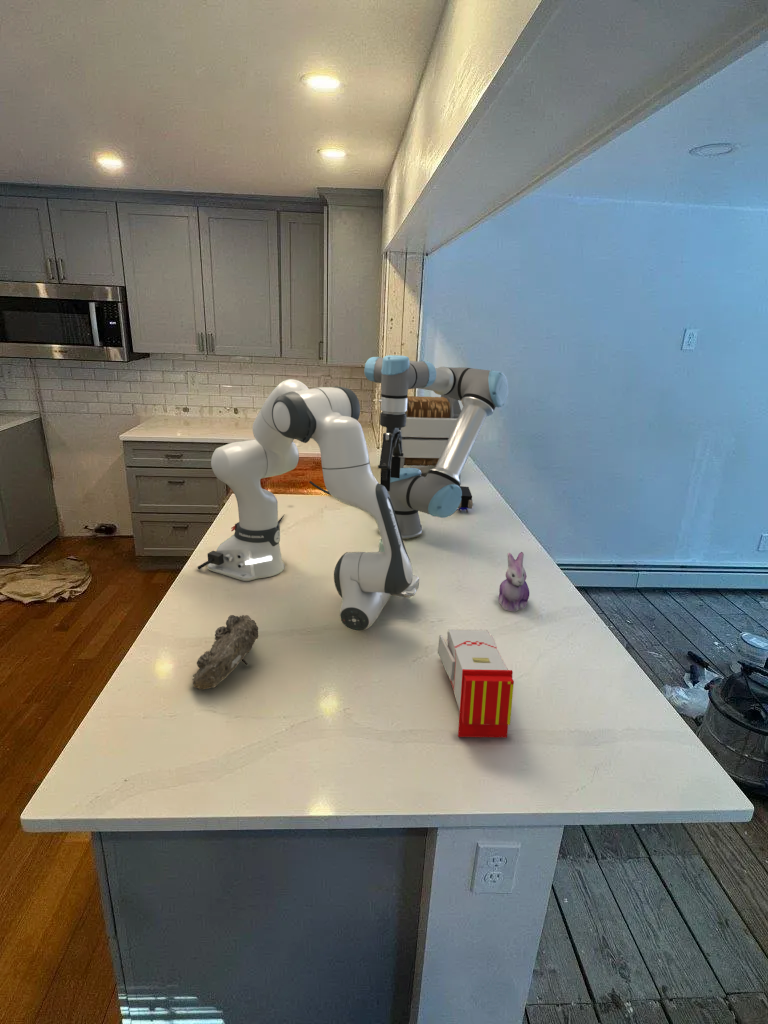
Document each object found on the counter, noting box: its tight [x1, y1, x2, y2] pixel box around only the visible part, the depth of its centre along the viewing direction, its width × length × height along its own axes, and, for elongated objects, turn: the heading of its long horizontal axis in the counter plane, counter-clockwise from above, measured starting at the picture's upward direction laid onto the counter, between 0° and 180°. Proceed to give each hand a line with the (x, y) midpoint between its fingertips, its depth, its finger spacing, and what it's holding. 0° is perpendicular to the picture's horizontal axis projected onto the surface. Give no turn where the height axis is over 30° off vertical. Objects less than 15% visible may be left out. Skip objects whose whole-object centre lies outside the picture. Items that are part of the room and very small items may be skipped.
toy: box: [437, 628, 515, 738], centre depth 117 cm, size 12×13×30 cm
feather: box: [278, 514, 286, 525], centre depth 209 cm, size 2×28×2 cm
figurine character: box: [457, 485, 474, 513], centre depth 227 cm, size 7×8×15 cm
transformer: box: [385, 395, 462, 482], centre depth 268 cm, size 34×33×41 cm
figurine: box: [497, 551, 530, 612], centre depth 152 cm, size 9×10×15 cm
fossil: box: [192, 614, 259, 691], centre depth 123 cm, size 22×10×15 cm
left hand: (388, 568), depth 158 cm, fingers open, 8 cm apart
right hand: (390, 483), depth 168 cm, fingers open, 13 cm apart
